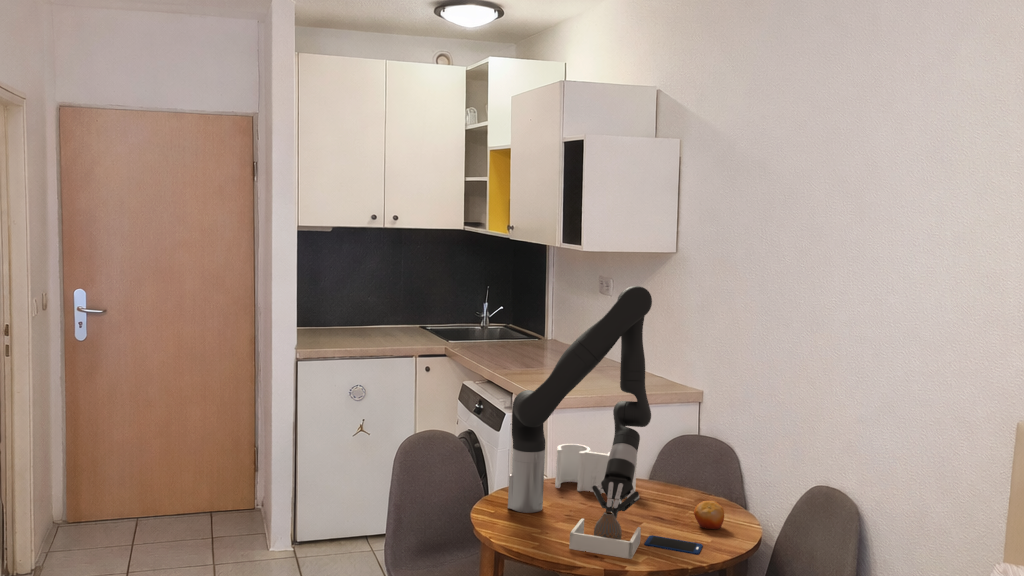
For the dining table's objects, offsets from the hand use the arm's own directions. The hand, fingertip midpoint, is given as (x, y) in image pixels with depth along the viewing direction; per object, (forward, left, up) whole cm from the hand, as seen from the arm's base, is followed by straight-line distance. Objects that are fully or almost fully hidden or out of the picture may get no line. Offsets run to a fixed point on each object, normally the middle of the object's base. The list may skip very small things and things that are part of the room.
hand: (609, 523), depth 212 cm
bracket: (-13, +41, -5) cm, 43 cm away
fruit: (+23, +21, -5) cm, 32 cm away
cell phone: (+16, +3, -5) cm, 17 cm away
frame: (0, -5, -4) cm, 6 cm away
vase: (+1, -5, -5) cm, 7 cm away
